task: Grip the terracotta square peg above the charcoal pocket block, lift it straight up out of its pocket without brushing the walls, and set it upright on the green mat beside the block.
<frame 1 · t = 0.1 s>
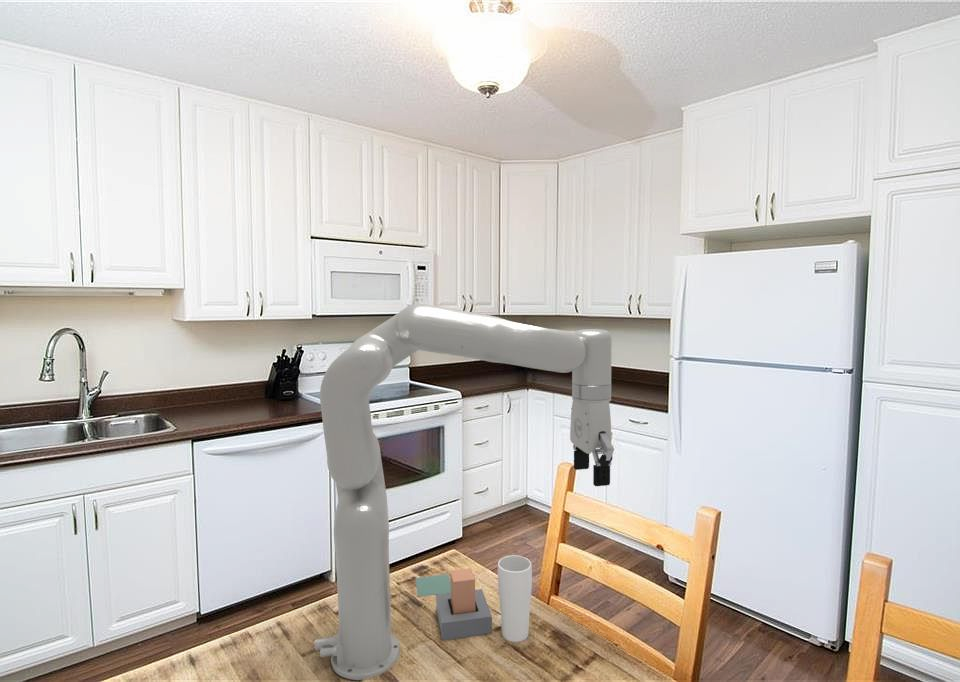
hand: (591, 476, 104), 31 cm above the table, tool pointing down, fingers open, 9 cm apart
peg: (463, 621, 108), resting on pocket block
drinking glass: (515, 636, 104), on the table
pocket block: (463, 623, 108), on the table
mat: (433, 587, 121), on the table
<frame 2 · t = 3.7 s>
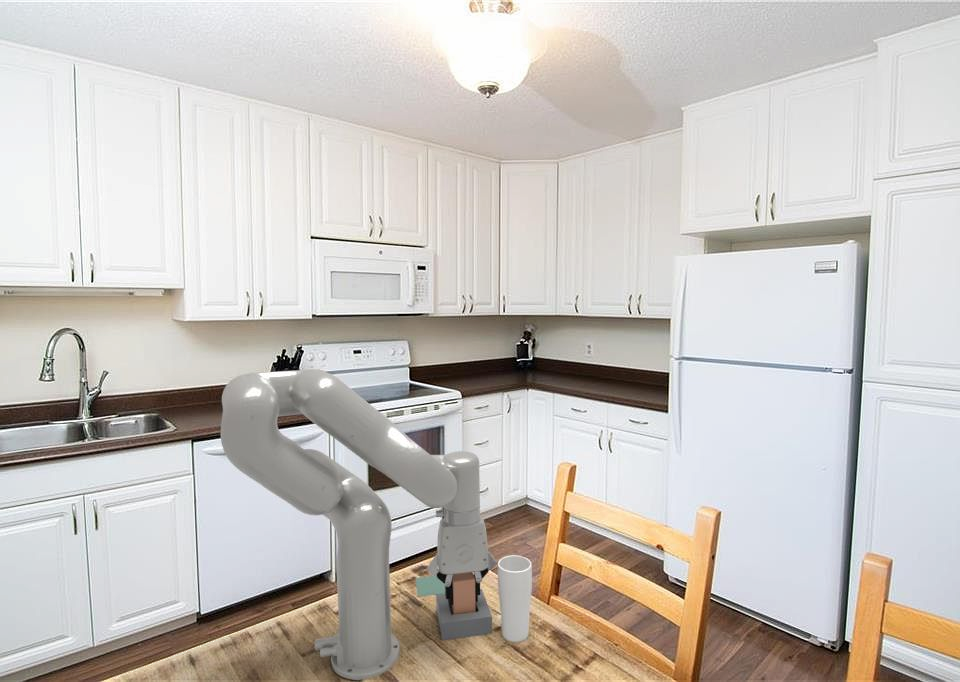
hand: (462, 598, 107), 5 cm above the table, tool pointing down, fingers closed on peg, 4 cm apart
peg: (463, 621, 108), point 1 cm above the table, touching gripper, pocket block
everything else where it was.
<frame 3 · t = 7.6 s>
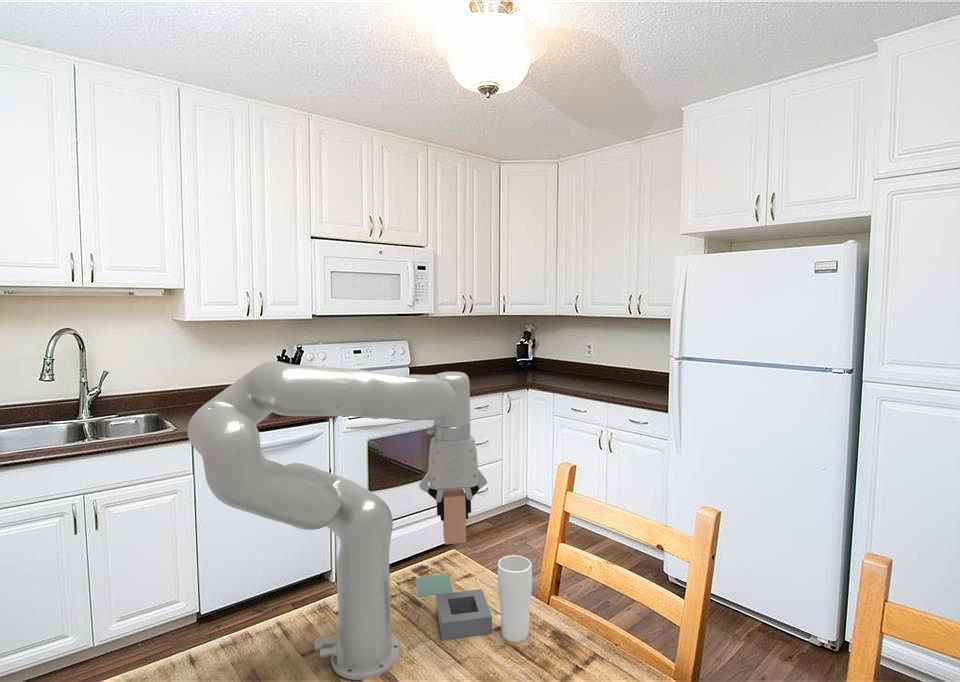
hand: (454, 516, 110), 21 cm above the table, tool pointing down, fingers closed on peg, 4 cm apart
peg: (454, 538, 110), point 17 cm above the table, touching gripper
everything else where it was.
when the fingers open (7 cm above the table, at t = 11.4 s): peg drops 1 cm, resting on mat.
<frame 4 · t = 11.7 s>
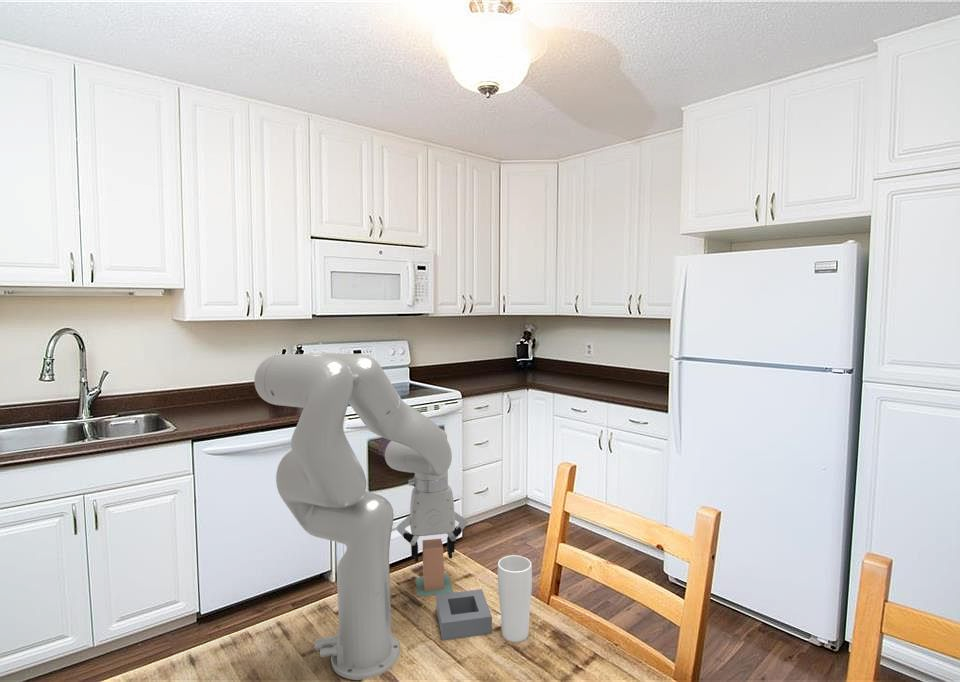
hand: (433, 556, 121), 7 cm above the table, tool pointing down, fingers open, 7 cm apart
peg: (433, 585, 121), resting on mat
everything else where it was.
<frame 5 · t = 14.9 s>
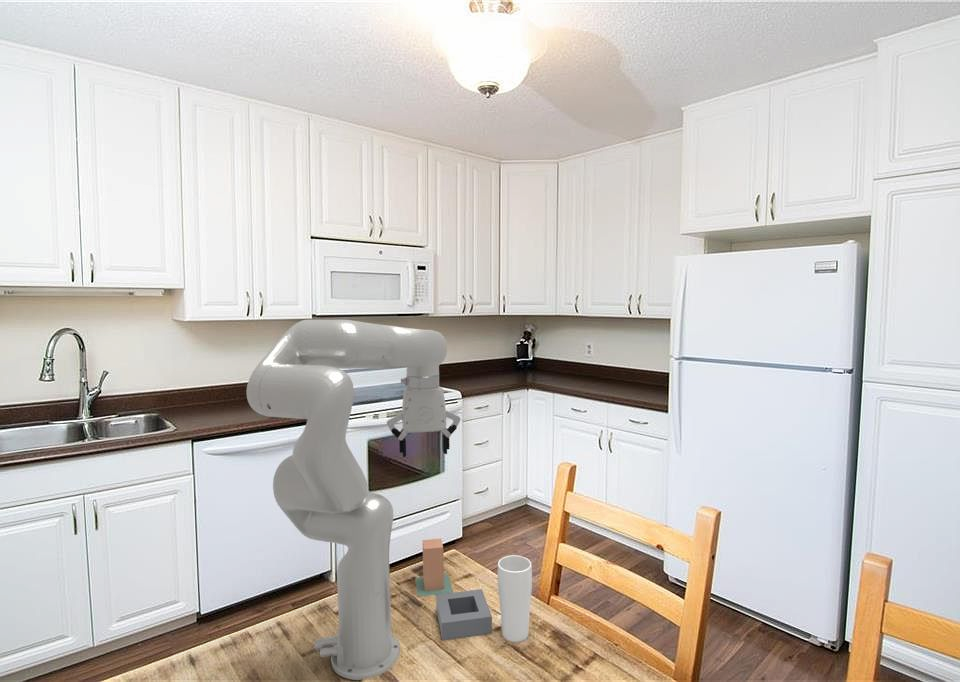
hand: (424, 453, 124), 30 cm above the table, tool pointing down, fingers open, 9 cm apart
nothing on the table moved.
at the end: peg inside the target area on the mat (0.0 cm from its centre), point 0.5 cm above the mat's base; peg tilted 0°; the gripper is holding nothing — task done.
